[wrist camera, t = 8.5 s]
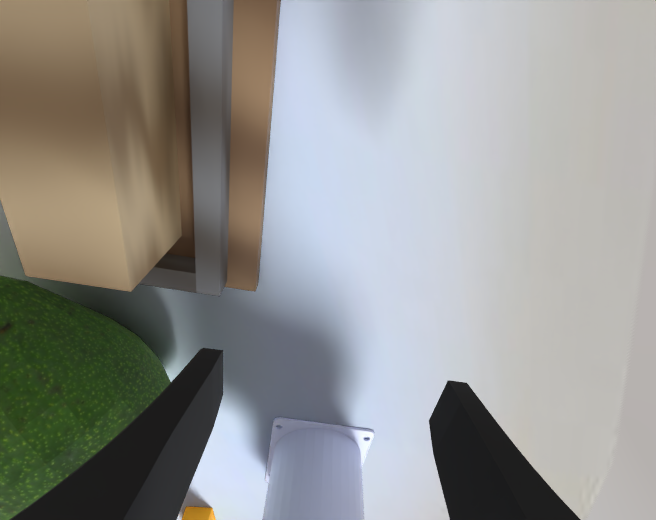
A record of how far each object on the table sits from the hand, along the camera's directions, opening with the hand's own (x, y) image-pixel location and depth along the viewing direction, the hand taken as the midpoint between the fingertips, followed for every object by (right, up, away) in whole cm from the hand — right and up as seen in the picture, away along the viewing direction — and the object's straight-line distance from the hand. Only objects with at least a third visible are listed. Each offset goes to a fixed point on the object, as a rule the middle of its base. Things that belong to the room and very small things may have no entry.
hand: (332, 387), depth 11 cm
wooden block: (-9, +11, +4) cm, 14 cm away
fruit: (-15, -1, +12) cm, 19 cm away
